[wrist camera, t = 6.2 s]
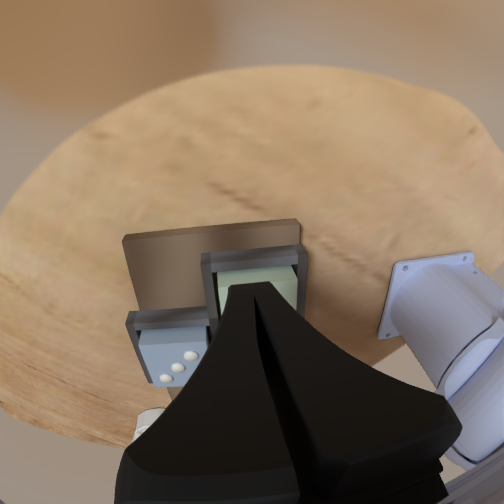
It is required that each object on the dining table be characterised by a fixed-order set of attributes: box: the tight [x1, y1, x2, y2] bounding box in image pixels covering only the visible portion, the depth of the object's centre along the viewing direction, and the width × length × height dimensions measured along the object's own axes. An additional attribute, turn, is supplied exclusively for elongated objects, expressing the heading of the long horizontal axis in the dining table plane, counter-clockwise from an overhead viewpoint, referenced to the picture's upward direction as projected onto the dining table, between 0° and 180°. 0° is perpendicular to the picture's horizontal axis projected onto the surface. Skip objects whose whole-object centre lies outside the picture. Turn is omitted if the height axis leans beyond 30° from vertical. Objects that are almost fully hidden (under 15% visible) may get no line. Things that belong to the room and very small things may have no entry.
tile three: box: [138, 326, 210, 387], centre depth 21 cm, size 4×4×3 cm
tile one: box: [217, 265, 298, 315], centre depth 19 cm, size 4×4×3 cm
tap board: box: [122, 219, 308, 401], centre depth 22 cm, size 12×17×2 cm
